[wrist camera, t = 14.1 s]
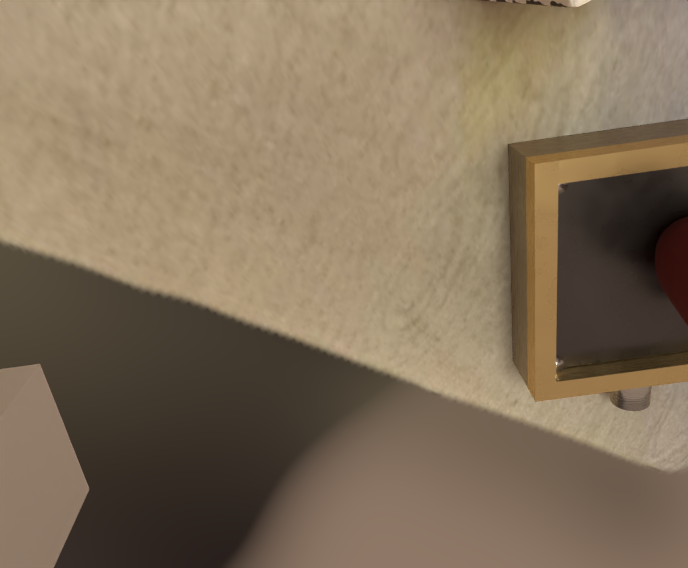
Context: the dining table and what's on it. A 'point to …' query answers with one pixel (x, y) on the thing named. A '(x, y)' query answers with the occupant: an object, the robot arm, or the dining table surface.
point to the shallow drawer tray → (596, 262)
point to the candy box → (547, 2)
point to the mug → (674, 265)
